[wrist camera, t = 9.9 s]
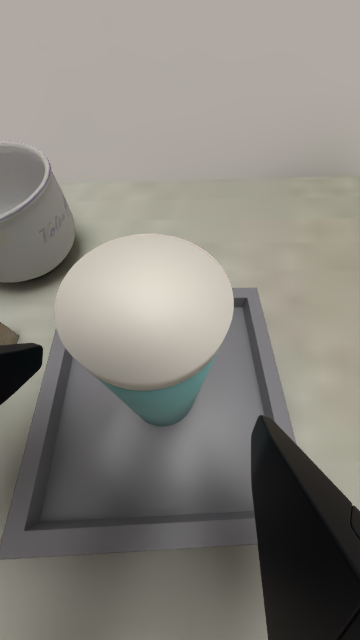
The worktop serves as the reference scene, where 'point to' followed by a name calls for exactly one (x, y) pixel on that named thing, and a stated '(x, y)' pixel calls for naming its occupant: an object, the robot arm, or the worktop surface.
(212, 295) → the canister
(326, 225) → the worktop surface
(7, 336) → the square metallic frame
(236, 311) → the tray
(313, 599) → the robot arm
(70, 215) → the teacup
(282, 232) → the worktop surface
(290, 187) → the worktop surface
